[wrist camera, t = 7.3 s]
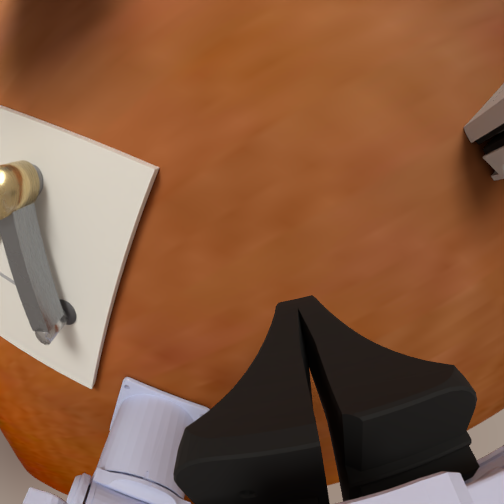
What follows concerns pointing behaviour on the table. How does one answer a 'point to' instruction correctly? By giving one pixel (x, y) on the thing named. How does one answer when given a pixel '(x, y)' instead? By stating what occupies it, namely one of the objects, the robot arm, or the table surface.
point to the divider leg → (28, 250)
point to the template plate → (73, 236)
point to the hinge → (490, 132)
